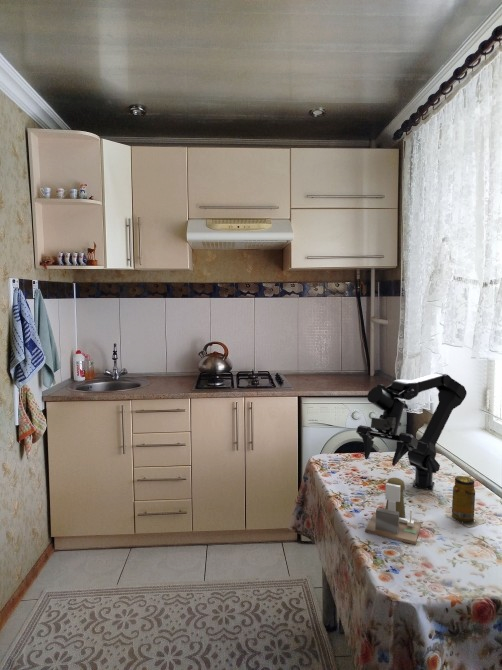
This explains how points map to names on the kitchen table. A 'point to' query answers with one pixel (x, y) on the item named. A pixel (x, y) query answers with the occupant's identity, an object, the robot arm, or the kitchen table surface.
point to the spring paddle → (394, 498)
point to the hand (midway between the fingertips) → (379, 462)
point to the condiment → (464, 502)
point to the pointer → (410, 520)
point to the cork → (400, 504)
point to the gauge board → (393, 536)
